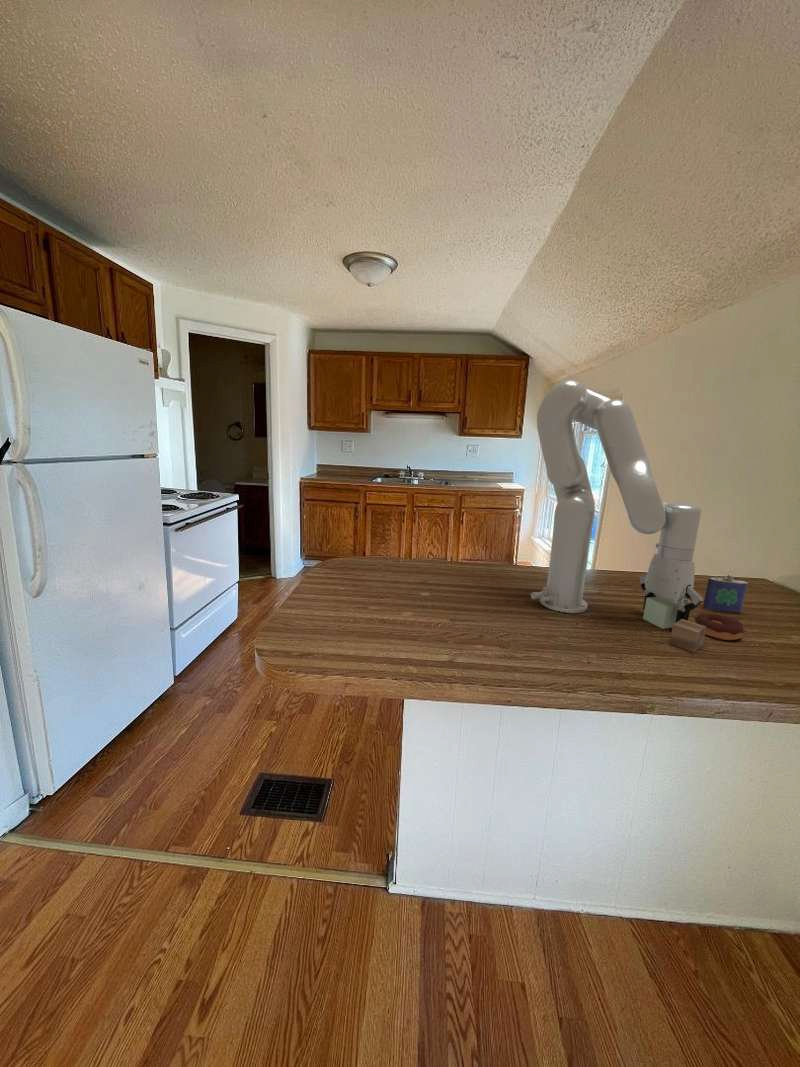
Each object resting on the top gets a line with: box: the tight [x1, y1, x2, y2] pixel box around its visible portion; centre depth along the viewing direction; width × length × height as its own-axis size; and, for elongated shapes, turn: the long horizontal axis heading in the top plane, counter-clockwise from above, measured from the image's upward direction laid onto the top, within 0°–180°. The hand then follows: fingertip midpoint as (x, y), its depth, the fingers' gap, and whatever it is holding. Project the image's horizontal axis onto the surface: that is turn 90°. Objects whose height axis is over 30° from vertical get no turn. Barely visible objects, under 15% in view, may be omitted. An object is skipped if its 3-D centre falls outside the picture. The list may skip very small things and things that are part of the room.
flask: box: [702, 573, 749, 615], centre depth 118 cm, size 9×3×11 cm, turn 74°
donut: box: [692, 612, 744, 641], centre depth 105 cm, size 10×10×4 cm
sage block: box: [642, 595, 685, 630], centre depth 110 cm, size 6×6×6 cm
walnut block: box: [669, 619, 706, 653], centre depth 98 cm, size 5×5×5 cm
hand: (664, 616), depth 110 cm, fingers open, 9 cm apart
